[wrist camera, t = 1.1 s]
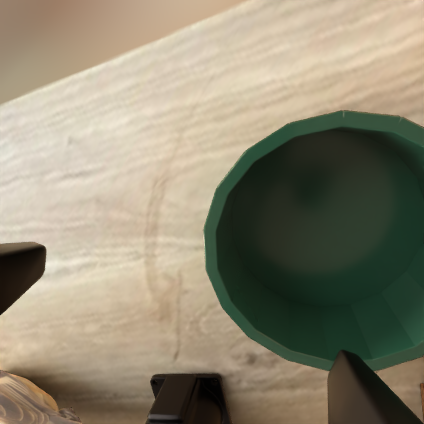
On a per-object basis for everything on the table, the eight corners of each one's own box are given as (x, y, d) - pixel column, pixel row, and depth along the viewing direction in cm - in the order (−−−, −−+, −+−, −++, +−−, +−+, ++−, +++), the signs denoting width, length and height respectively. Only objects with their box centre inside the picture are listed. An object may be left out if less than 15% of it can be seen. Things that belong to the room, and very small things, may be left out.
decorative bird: (-51, 354, 33) (-107, 391, 28) (153, 364, 26) (124, 413, 21) (-33, 402, 34) (-84, 445, 29) (166, 422, 28) (141, 481, 23)
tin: (442, 302, 20) (507, 369, 14) (242, 316, 23) (230, 373, 18) (426, 94, 17) (498, 73, 11) (205, 146, 21) (176, 149, 15)
